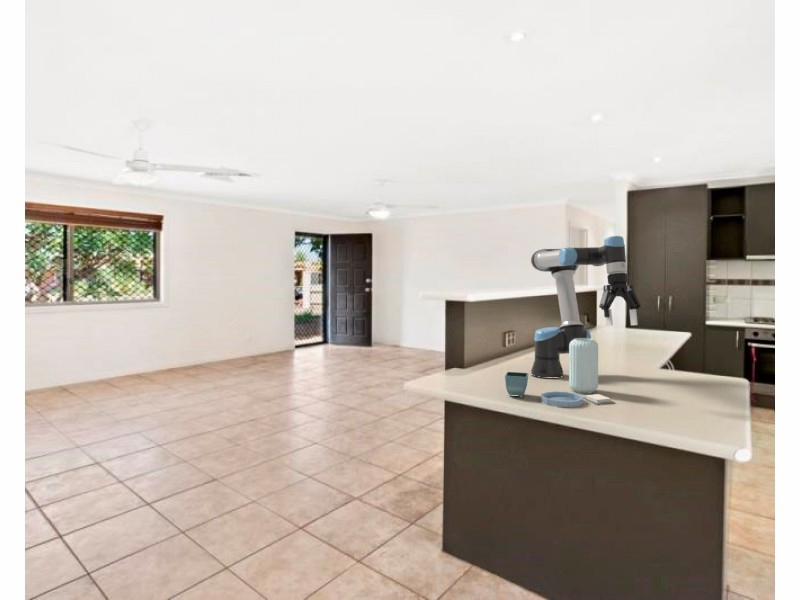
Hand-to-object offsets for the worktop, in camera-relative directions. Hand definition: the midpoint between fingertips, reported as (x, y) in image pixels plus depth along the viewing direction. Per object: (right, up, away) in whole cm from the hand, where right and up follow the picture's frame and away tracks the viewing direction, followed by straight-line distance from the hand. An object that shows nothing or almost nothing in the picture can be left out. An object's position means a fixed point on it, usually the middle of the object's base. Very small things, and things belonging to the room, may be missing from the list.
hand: (622, 325), depth 193 cm
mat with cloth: (-12, -29, -6) cm, 32 cm away
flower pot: (-42, -30, +4) cm, 51 cm away
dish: (-27, -30, -7) cm, 40 cm away
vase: (-12, -29, +9) cm, 32 cm away
